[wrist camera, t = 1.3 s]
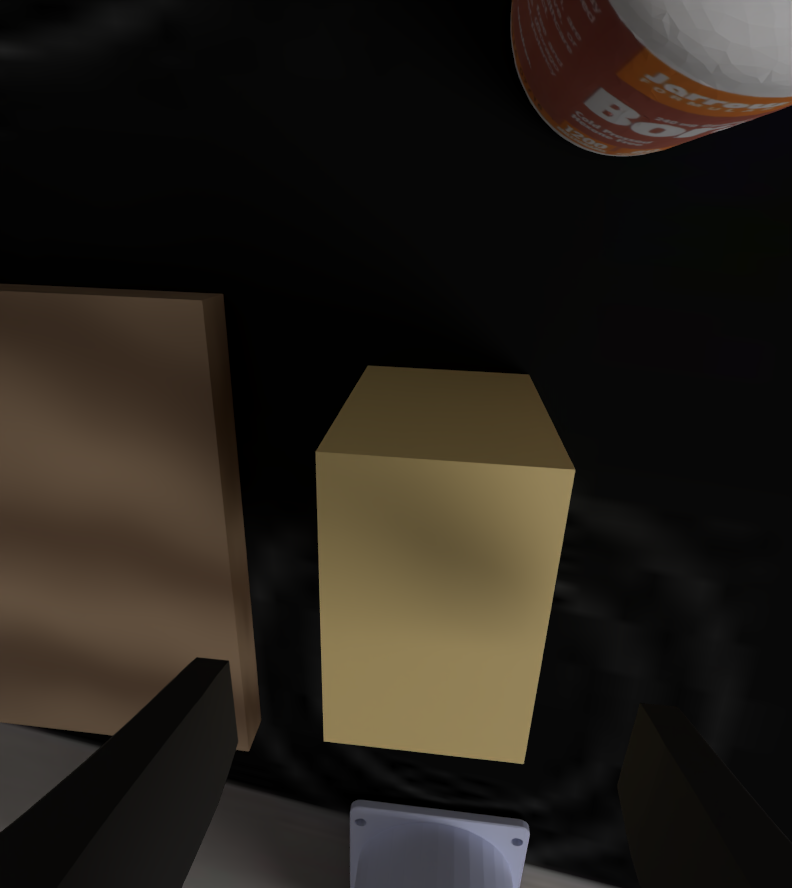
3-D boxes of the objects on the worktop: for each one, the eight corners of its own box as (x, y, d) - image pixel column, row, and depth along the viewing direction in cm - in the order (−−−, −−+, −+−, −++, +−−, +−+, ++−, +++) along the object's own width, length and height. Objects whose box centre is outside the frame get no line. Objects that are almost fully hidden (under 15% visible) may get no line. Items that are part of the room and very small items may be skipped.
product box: (500, 592, 20) (522, 771, 13) (365, 580, 20) (323, 748, 14) (528, 373, 17) (575, 469, 10) (368, 365, 17) (315, 451, 11)
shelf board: (261, 720, 23) (249, 751, 22) (3, 691, 24) (-24, 719, 23) (223, 293, 17) (201, 300, 15) (-135, 277, 18) (-185, 282, 16)
